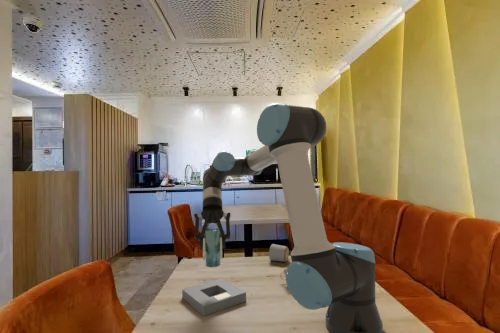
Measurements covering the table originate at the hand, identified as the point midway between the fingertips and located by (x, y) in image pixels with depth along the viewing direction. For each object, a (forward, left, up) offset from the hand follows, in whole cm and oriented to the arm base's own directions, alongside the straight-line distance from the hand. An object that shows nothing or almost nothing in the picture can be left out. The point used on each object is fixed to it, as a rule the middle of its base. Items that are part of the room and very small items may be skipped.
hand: (212, 257), depth 99 cm
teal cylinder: (+3, -2, -4) cm, 5 cm away
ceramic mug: (+20, -48, -16) cm, 55 cm away
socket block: (+3, -2, -16) cm, 16 cm away
